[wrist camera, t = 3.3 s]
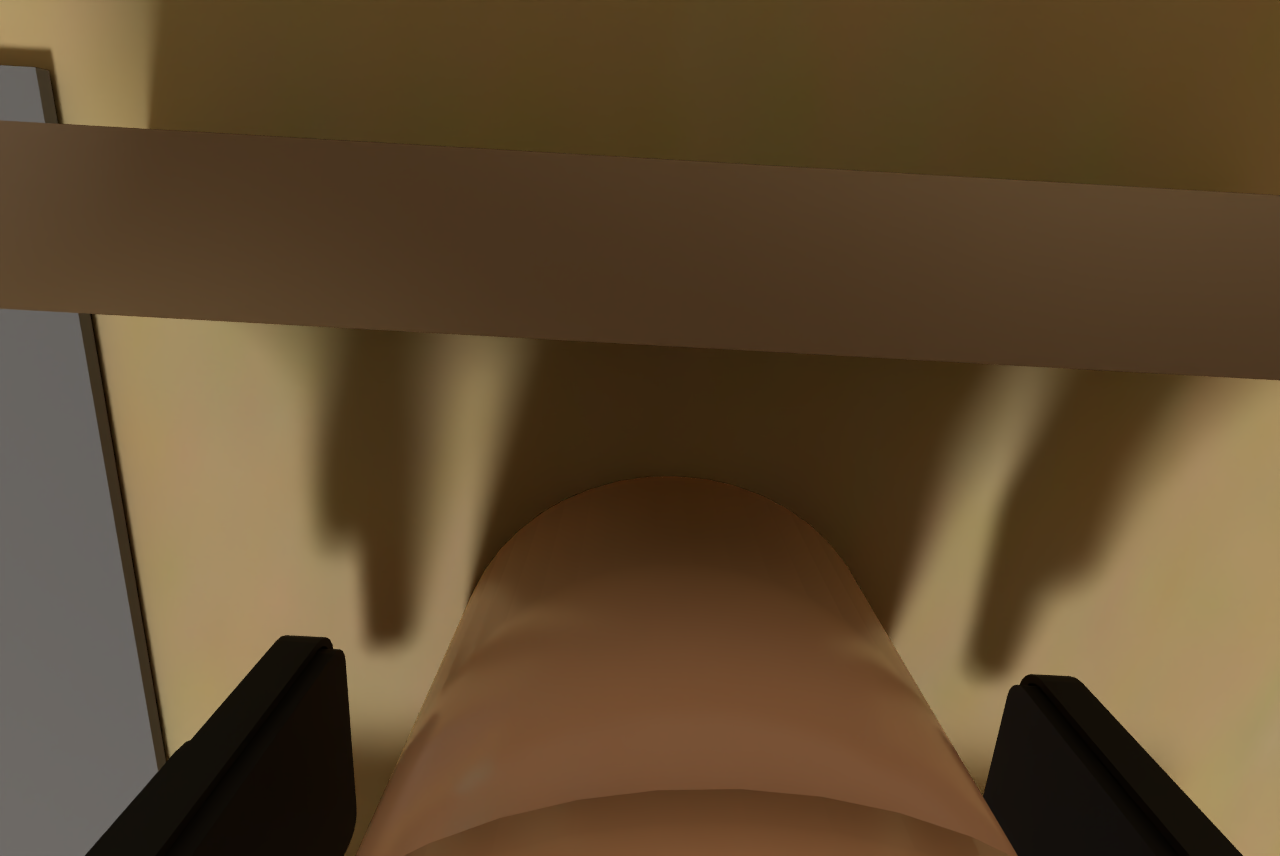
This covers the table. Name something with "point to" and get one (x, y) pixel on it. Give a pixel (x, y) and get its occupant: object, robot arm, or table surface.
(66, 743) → the mat
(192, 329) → the table surface
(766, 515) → the seedling pot
